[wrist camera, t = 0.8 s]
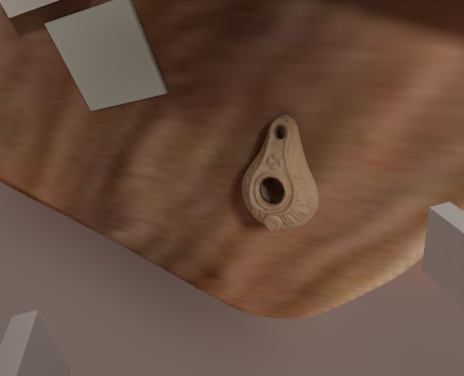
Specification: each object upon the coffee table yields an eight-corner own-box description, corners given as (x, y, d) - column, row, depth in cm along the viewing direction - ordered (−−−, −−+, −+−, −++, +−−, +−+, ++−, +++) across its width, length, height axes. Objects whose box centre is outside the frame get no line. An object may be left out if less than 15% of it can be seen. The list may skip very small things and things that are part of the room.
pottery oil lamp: (329, 115, 40) (331, 149, 34) (312, 203, 47) (312, 242, 41) (248, 107, 41) (237, 138, 35) (243, 194, 48) (234, 231, 43)
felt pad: (47, 22, 39) (44, 23, 39) (128, -6, 36) (126, -4, 36) (93, 108, 45) (90, 111, 44) (167, 91, 42) (165, 93, 41)
